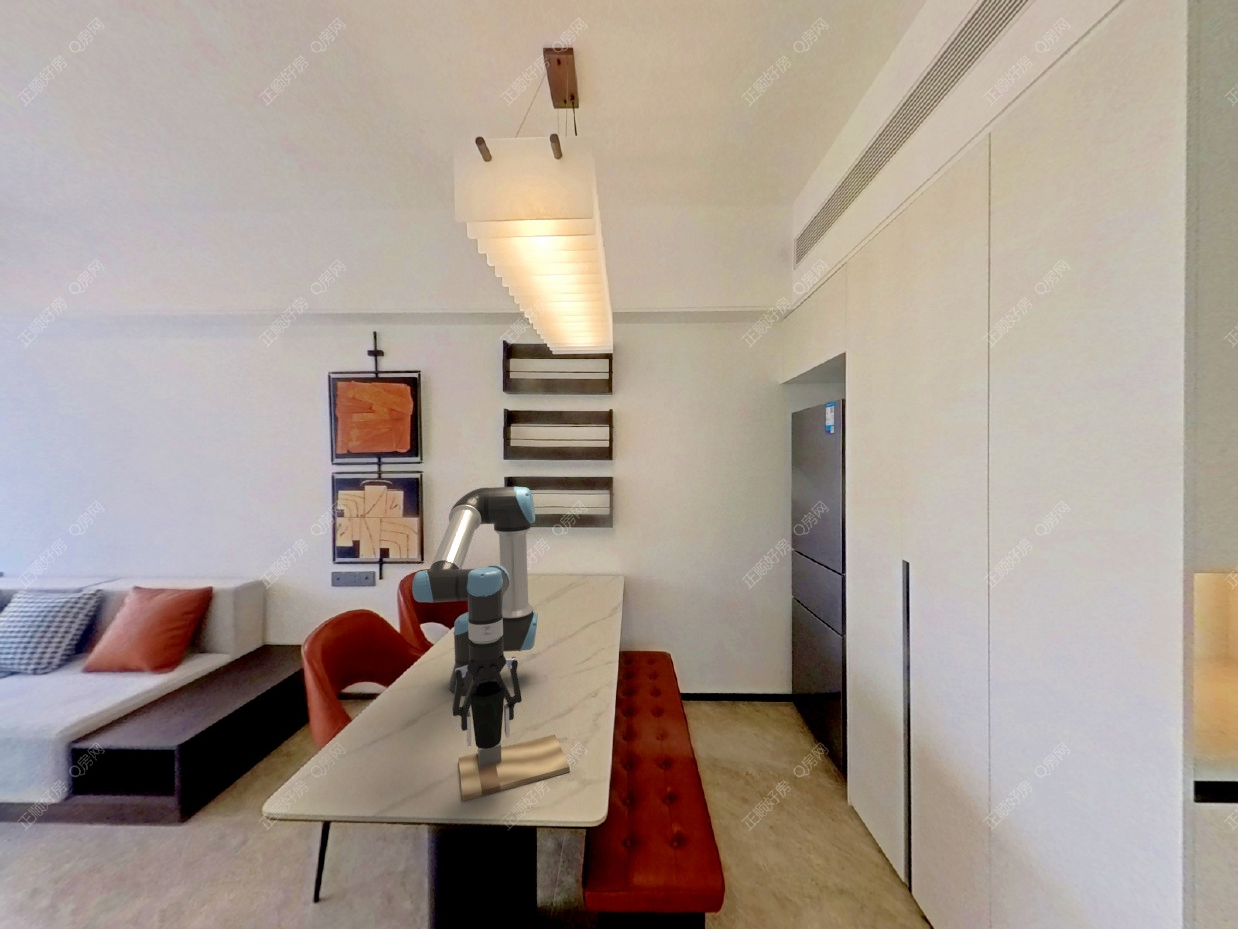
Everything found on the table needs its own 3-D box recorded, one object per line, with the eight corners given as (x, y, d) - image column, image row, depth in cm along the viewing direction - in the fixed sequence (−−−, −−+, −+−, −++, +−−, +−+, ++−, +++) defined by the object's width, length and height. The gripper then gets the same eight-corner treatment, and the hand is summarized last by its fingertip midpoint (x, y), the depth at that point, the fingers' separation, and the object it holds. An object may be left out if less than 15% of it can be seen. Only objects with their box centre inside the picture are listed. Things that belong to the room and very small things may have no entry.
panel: (458, 762, 115) (458, 757, 115) (555, 739, 124) (554, 734, 124) (462, 801, 102) (462, 795, 102) (569, 771, 111) (569, 766, 111)
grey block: (477, 754, 116) (477, 737, 116) (498, 749, 118) (498, 732, 118) (479, 767, 111) (479, 749, 111) (501, 761, 113) (501, 744, 113)
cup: (508, 731, 111) (507, 680, 110) (501, 751, 103) (500, 696, 103) (475, 732, 110) (474, 681, 110) (466, 752, 103) (465, 697, 103)
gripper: (437, 652, 99) (440, 759, 99) (534, 636, 107) (536, 736, 107) (437, 639, 106) (439, 740, 106) (528, 625, 114) (530, 719, 114)
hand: (488, 738), depth 107 cm, fingers closed on cup, 8 cm apart
